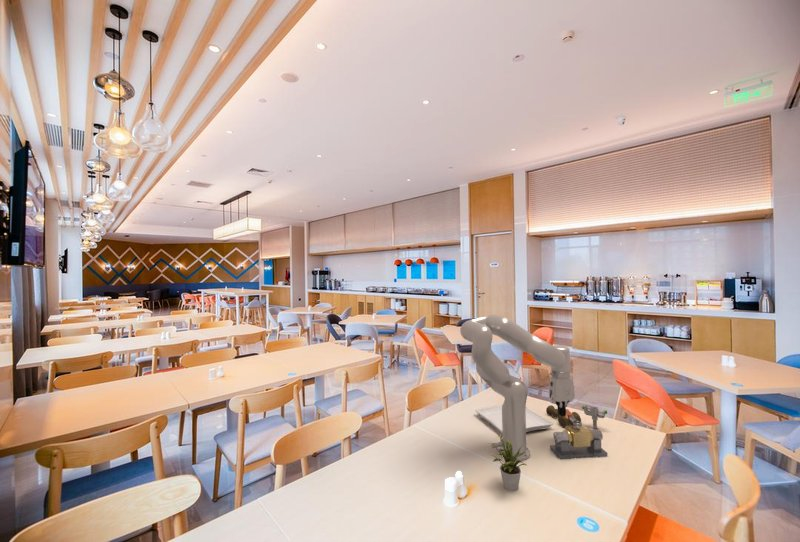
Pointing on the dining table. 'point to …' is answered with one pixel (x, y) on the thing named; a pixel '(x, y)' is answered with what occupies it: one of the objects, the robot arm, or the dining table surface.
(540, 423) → the square plate
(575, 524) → the dining table surface
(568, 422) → the kendama
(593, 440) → the ball valve
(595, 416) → the mechanical component
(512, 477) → the house plant
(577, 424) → the lever
